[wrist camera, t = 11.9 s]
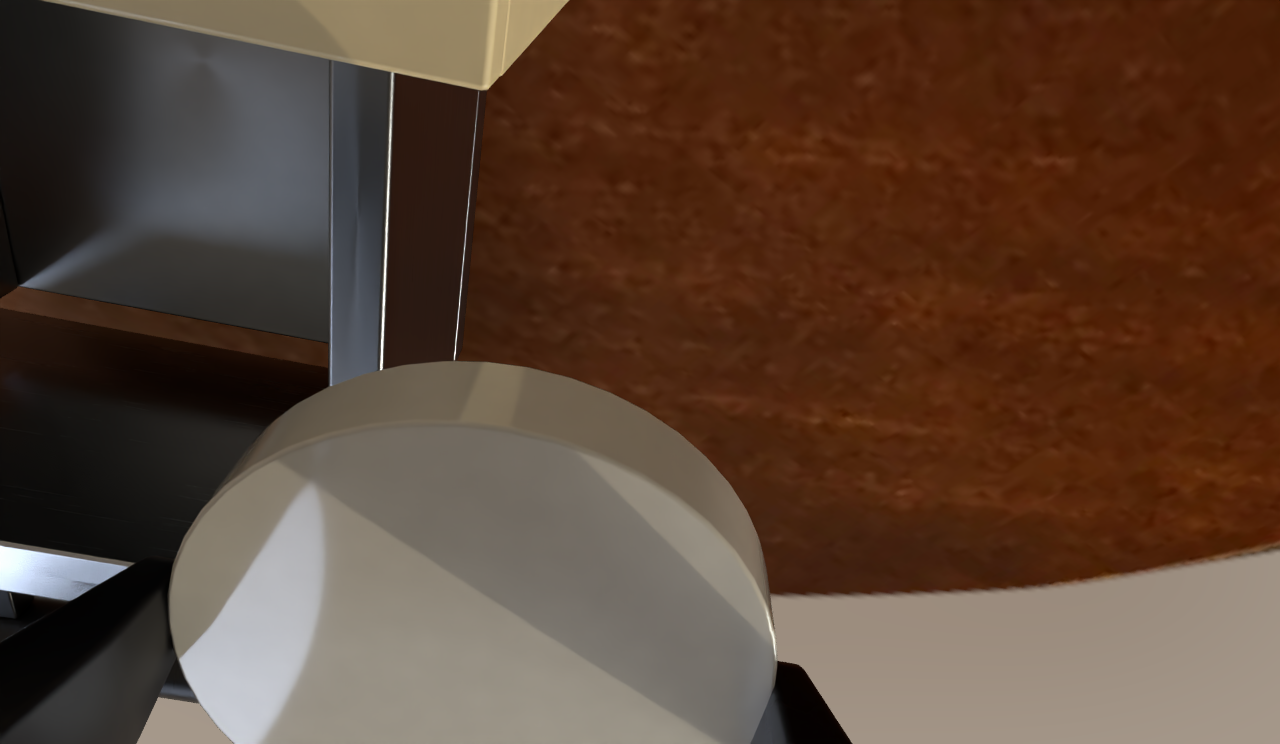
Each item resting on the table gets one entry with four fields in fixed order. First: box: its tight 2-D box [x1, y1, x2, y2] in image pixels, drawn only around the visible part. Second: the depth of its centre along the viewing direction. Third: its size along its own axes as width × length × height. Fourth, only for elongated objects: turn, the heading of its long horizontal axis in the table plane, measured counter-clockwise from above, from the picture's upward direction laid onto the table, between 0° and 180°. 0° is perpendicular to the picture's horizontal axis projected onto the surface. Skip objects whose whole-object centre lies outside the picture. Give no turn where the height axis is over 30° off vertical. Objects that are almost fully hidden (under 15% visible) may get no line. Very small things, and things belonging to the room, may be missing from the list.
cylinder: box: [168, 361, 778, 744], centre depth 10 cm, size 7×7×2 cm
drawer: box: [0, 0, 487, 703], centre depth 15 cm, size 18×11×7 cm, turn 169°
